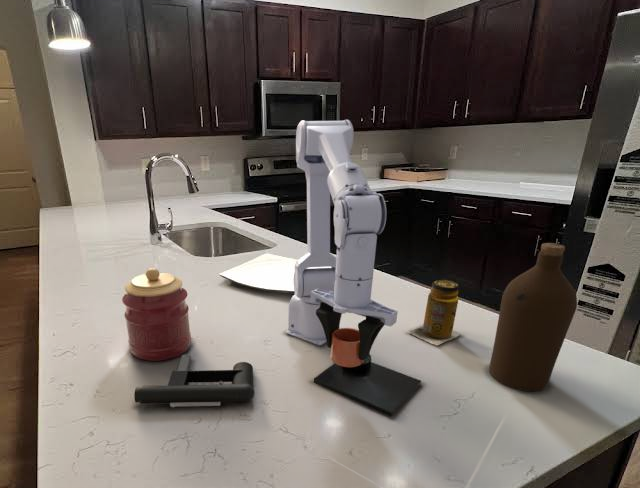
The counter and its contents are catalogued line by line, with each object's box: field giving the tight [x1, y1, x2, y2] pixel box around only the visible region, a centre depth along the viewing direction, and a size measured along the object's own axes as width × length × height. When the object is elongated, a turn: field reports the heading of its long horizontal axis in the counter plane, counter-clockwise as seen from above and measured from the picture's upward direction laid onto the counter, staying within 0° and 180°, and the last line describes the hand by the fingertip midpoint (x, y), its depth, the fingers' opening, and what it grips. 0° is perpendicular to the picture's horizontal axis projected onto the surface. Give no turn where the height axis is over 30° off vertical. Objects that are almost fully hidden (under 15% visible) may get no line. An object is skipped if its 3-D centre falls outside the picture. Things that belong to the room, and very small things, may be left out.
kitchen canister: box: [121, 267, 192, 362], centre depth 86 cm, size 13×13×18 cm
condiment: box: [408, 279, 460, 346], centre depth 91 cm, size 7×8×12 cm
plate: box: [219, 253, 332, 294], centre depth 128 cm, size 29×29×3 cm
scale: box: [313, 353, 422, 417], centre depth 75 cm, size 15×12×2 cm
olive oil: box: [488, 242, 578, 392], centre depth 72 cm, size 11×11×25 cm
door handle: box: [133, 353, 255, 408], centre depth 76 cm, size 3×20×16 cm
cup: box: [330, 327, 363, 367], centre depth 70 cm, size 5×5×4 cm
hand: (347, 351), depth 70 cm, fingers closed on cup, 5 cm apart
